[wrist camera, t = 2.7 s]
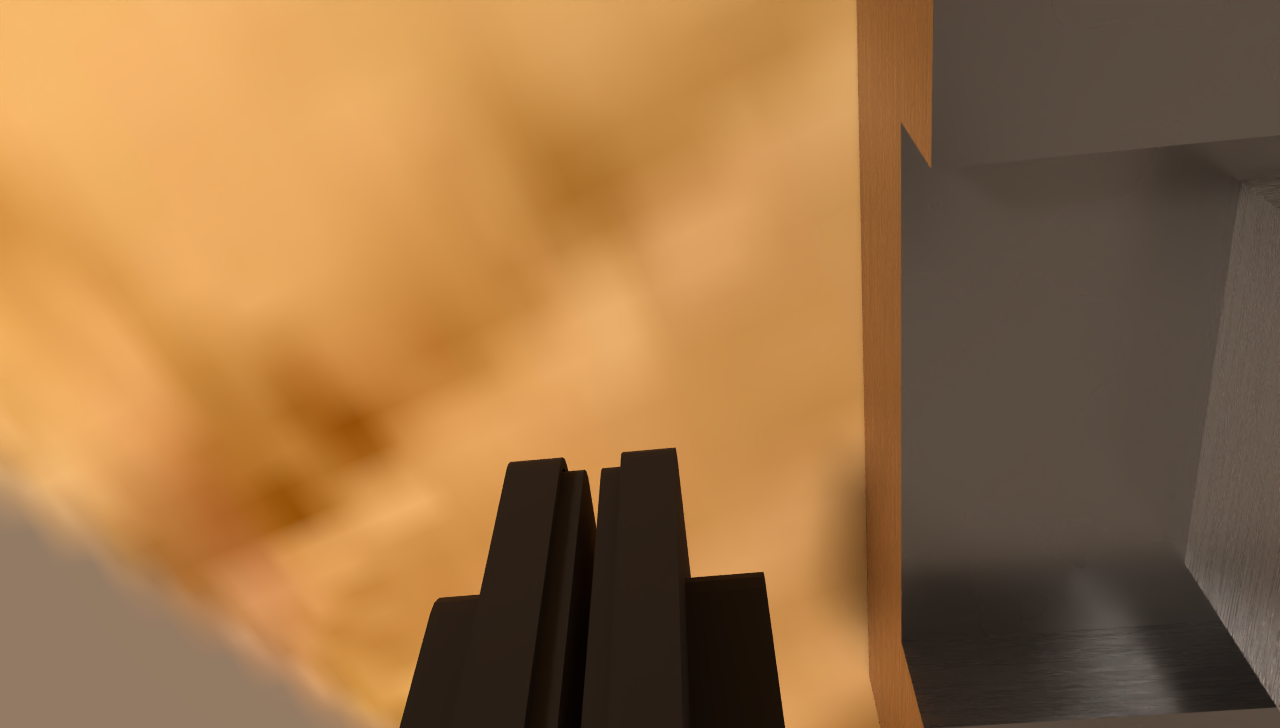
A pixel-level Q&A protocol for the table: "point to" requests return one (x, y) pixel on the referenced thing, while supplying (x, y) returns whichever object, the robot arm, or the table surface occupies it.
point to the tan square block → (1245, 444)
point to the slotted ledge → (1050, 351)
